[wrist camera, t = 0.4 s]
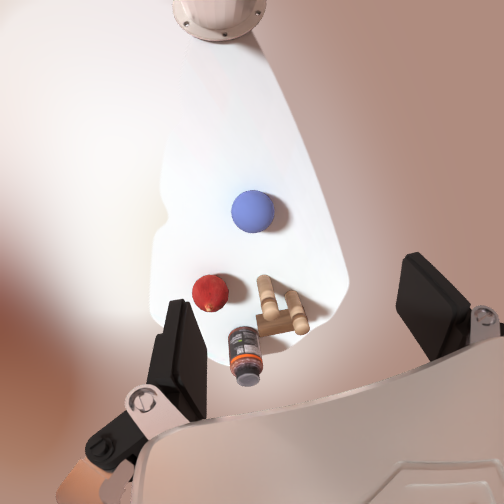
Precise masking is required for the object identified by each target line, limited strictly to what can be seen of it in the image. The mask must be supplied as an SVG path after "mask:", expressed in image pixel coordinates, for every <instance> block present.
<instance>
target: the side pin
mask: <svg viewBox="0 0 504 504" xmlns="http://www.w3.org/2000/svg"><path fill="white" fill-rule="evenodd" d="M285 300H286V303H287V306H288V310H289V313H290V316H291V320H292V324H293V326H294V330H295V333H296V334H297V335H304V334H306V333H308V332H309V330H310V327H309V324H308V321H307V318H306V315H305V313H304V310H303V307H302V305H301V302H300V299H299V297H298V294H297V292H296V291H288V292H287V293H286V294H285Z"/></svg>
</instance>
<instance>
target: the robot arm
mask: <svg viewBox="0 0 504 504" xmlns="http://www.w3.org/2000/svg"><path fill="white" fill-rule="evenodd" d="M265 8H266V0H173V14H174V17H175V19H176V21H177V23H178V24H179V25H180V27H181V28H182V29H183V30H185V31H186V32H187V33H188V34H190V35H192V36H194V37H197V38H199V39H203V40H208V41H225V40H230V39H234V38H237V37H240V36H242V35H244V34H246V33H247V32H249V31H251V30H252V29H253V28H254V27H255V26H256V25H257V24H258V23H259V21H260V20H261V19H262V17H263V14H264V12H265ZM256 13H258V14H259V15H258V16H257V15H256ZM186 24H189V26H187V27H186V26H185V25H186ZM224 34H227V36H226V37H224V36H223V35H224ZM470 305H471V304H470V303H469V302H468V301H467V300H466V298H465V297H464V296H463V295H462V294H461V293H460V292H459V291H458V290H457V289H456V288H455V287H454V286H453V285H452V284H451V283H450V282H449V281H448V280H447V279H446V278H445V277H444V276H443V275H442V274H441V273H440V272H439V271H438V270H437V269H436V268H435V267H434V266H433V265H432V264H431V263H430V262H429V261H427V260H426V259H425V258H424V257H423V256H422V255H421V254H420V253H419V252H415V253H411V254H407V255H406V257H405V258H404V259H403V262H402V269H401V276H400V283H399V289H398V295H397V301H396V310H397V313H398V314H399V315H400V317H401V318H402V320H403V321H404V323H405V324H406V326H407V327H408V328H409V330H410V331H411V333H412V334H413V336H414V337H415V339H416V340H417V342H418V343H419V345H420V346H421V348H422V349H423V351H424V352H425V354H426V356H427V357H428V359H429V360H430V362H429V363H427V364H425V365H422V366H420V367H417V368H415V369H412V370H409V371H407V372H404V373H402V374H399V375H396V376H393V377H390V378H387V379H385V380H382V381H379V382H376V383H373V384H369V385H367V386H363V387H360V388H357V389H353V390H350V391H346V392H343V393H339V394H336V395H332V396H328V397H324V398H320V399H316V400H312V401H307V402H304V403H299V404H294V405H289V406H284V407H279V408H274V409H269V410H262V411H257V412H251V413H245V414H239V415H231V416H224V417H218V418H211V419H206V414H207V413H206V412H207V411H206V410H207V409H206V405H207V402H206V401H207V348H206V345H205V342H204V340H203V337H202V334H201V332H200V329H199V327H198V324H197V321H196V319H195V316H194V313H193V310H192V308H191V305H190V303H189V302H185V300H184V299H179V300H173V301H170V302H169V306H168V311H167V315H166V320H165V325H164V330H163V333H162V334H158V335H157V336H156V338H155V343H154V348H153V353H152V357H151V362H150V367H149V372H148V377H147V383H146V384H143V385H139V386H137V387H135V388H133V389H132V390H131V391H130V392H129V394H128V395H127V396H126V400H125V407H126V411H124V412H123V413H122V414H120V415H119V416H118V417H117V418H115V419H114V420H113V421H112V422H110V423H109V424H107V425H106V426H105V427H104V428H102V429H101V430H100V431H98V432H97V433H96V434H94V435H93V436H92V437H91V438H90V439H89V440H88V442H87V443H86V447H85V452H86V453H85V454H86V457H85V458H84V459H83V460H82V459H80V460H79V461H78V462H77V463H76V465H75V466H74V467H73V469H72V470H71V471H70V473H69V474H68V476H67V477H66V478H65V480H64V481H63V482H62V483H61V485H60V486H59V488H58V489H57V492H56V500H57V503H58V504H120V499H121V497H122V495H123V493H124V492H125V489H124V487H125V486H126V484H127V483H128V482H132V481H133V482H132V491H131V504H504V324H503V323H500V322H499V318H498V315H497V313H496V312H495V311H494V310H493V309H491V308H490V307H487V306H482V305H480V306H476V307H474V308H473V310H471V309H470ZM202 419H204V420H202Z"/></svg>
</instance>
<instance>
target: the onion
mask: <svg viewBox="0 0 504 504" xmlns="http://www.w3.org/2000/svg"><path fill="white" fill-rule="evenodd" d="M228 294H229V290H228V288H227V286H226V283H225V282H224V281H223V280H222V279H221V278H219V277H217V276H215V275H206V276H203V277H201V278H200V279H198V280H197V281H196V283H195V284H194V286H193V290H192V297H193V300H194V302H195V304H196V305H197V306H198V307H199V308H200V309H201V310H203V311H205V312H216V311H218V310H220V309H221V308H223V306H224V305H225V304H226V302H227V301H228Z"/></svg>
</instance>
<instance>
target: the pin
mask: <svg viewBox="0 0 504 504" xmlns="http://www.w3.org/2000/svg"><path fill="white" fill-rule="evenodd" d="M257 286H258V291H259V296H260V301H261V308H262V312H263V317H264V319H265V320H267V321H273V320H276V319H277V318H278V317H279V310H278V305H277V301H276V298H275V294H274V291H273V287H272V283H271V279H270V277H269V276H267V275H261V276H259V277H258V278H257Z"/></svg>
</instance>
